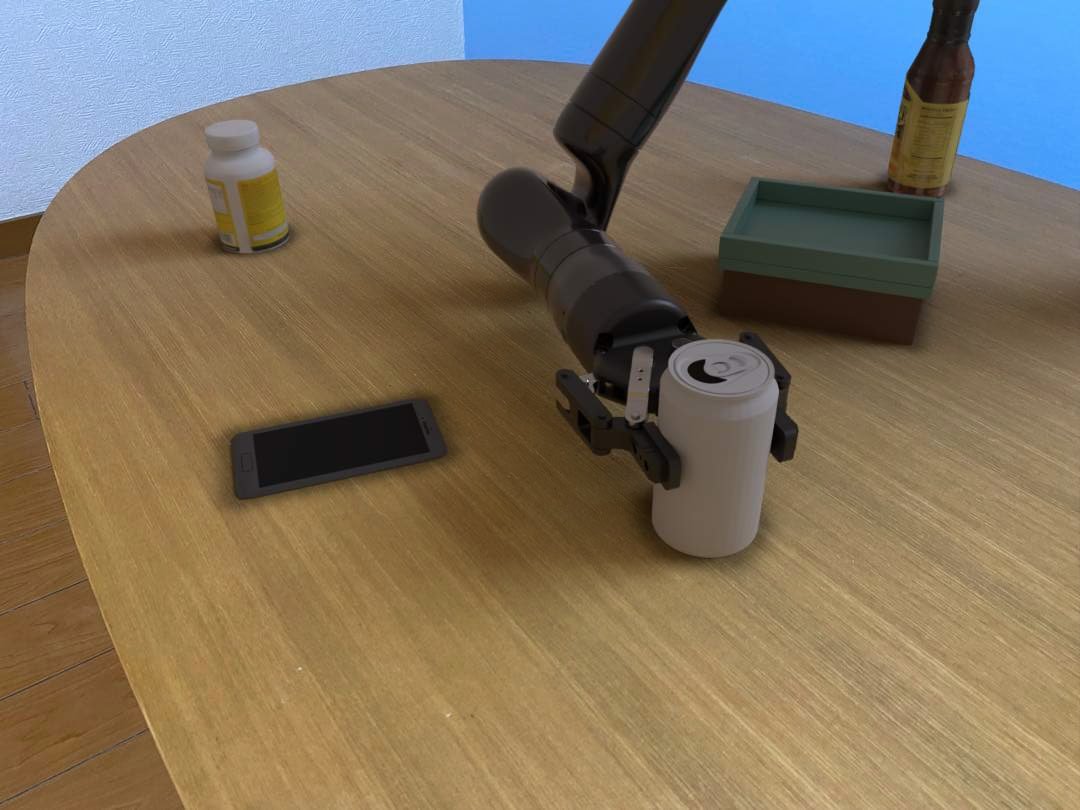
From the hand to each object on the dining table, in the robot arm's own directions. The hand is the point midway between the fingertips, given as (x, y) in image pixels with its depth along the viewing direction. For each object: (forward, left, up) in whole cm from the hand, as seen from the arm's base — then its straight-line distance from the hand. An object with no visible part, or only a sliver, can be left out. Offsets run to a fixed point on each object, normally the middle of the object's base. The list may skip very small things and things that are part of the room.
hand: (733, 462), depth 51 cm
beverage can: (+1, -2, -7) cm, 8 cm away
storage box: (-2, -33, -7) cm, 34 cm away
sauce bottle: (-8, -60, -7) cm, 61 cm away
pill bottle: (+51, -27, -7) cm, 58 cm away
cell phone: (+26, -1, -7) cm, 28 cm away
